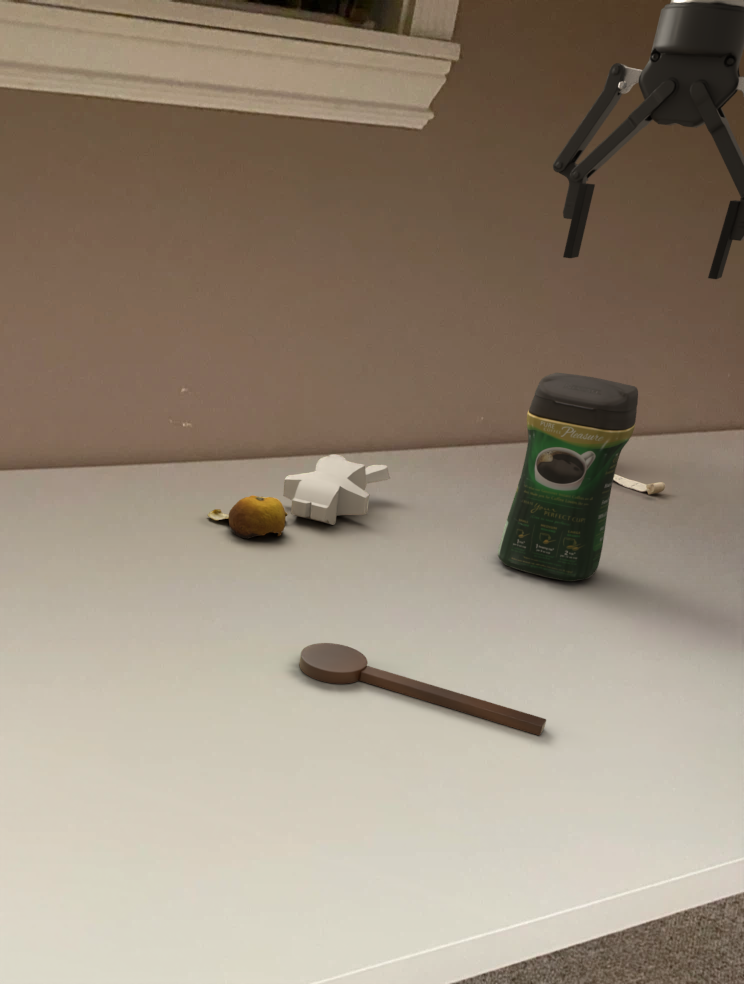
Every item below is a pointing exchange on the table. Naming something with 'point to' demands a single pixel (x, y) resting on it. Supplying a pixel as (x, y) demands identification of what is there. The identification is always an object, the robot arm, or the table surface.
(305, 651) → the spoon
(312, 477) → the white toy figure
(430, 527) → the table surface
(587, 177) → the robot arm
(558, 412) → the coffee jar
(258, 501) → the fruit
